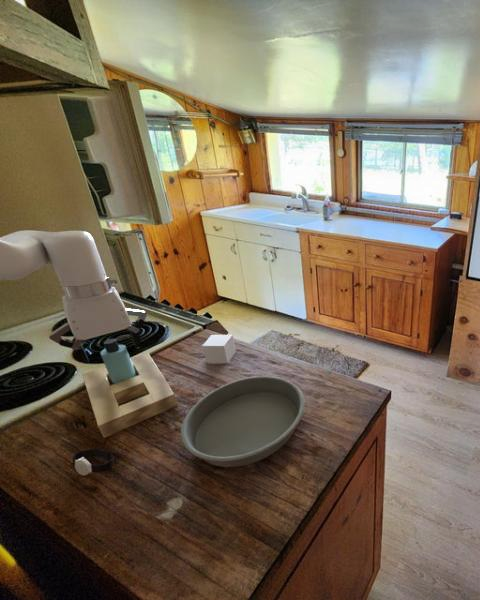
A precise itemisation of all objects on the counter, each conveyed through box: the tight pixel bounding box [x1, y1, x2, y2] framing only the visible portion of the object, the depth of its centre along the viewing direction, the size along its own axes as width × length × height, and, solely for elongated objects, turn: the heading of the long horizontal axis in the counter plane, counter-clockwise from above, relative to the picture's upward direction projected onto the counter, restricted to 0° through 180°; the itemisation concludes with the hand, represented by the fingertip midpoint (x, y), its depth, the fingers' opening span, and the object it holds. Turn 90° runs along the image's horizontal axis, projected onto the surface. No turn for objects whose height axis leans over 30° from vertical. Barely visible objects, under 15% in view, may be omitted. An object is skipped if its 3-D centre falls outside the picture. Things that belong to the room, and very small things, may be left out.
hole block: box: [82, 352, 179, 439], centre depth 80 cm, size 14×24×4 cm, turn 47°
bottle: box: [99, 338, 137, 384], centre depth 80 cm, size 5×5×14 cm
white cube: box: [201, 334, 237, 364], centre depth 95 cm, size 6×6×6 cm
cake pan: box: [180, 375, 306, 468], centre depth 72 cm, size 25×25×4 cm
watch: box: [71, 448, 115, 476], centre depth 62 cm, size 8×5×4 cm, turn 77°
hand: (112, 352), depth 79 cm, fingers open, 9 cm apart
